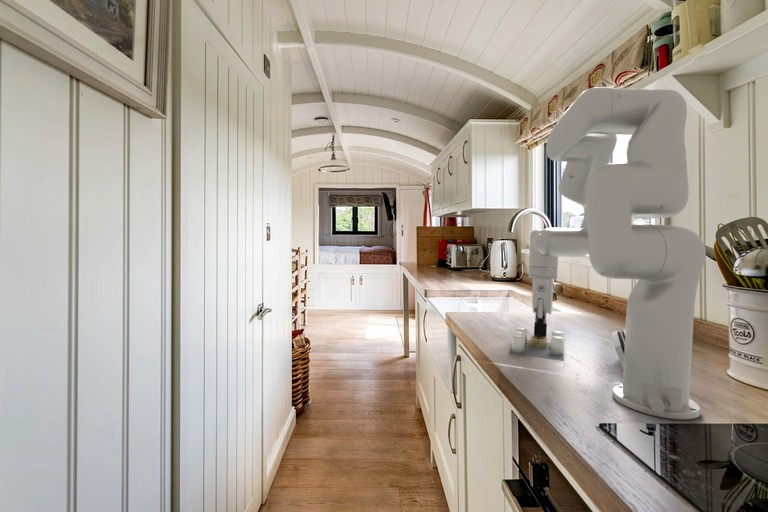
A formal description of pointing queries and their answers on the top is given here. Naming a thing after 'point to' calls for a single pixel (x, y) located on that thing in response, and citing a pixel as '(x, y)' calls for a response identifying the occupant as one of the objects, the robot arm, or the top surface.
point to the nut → (538, 342)
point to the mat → (540, 352)
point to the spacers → (521, 339)
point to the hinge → (619, 345)
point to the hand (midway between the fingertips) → (540, 336)
